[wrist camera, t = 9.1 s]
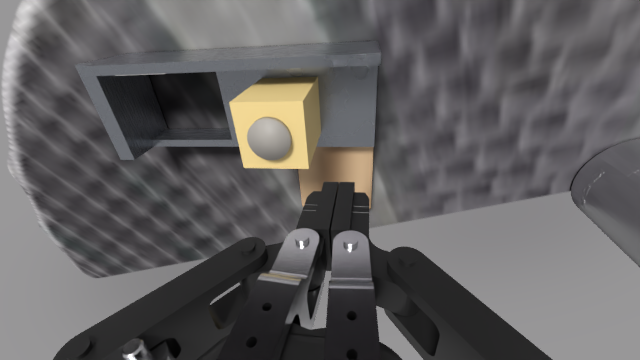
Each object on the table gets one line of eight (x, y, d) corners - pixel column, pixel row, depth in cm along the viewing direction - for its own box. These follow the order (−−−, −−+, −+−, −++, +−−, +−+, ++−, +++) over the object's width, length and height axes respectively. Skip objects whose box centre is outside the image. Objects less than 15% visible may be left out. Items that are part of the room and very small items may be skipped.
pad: (373, 138, 29) (373, 144, 28) (370, 200, 34) (370, 208, 32) (298, 139, 31) (295, 144, 29) (304, 198, 35) (302, 206, 34)
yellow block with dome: (317, 76, 24) (301, 104, 18) (321, 131, 27) (307, 173, 20) (261, 78, 25) (225, 105, 18) (269, 131, 27) (241, 171, 21)
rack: (377, 40, 25) (381, 53, 19) (373, 134, 29) (375, 167, 23) (126, 53, 28) (63, 67, 22) (158, 135, 33) (113, 164, 27)
